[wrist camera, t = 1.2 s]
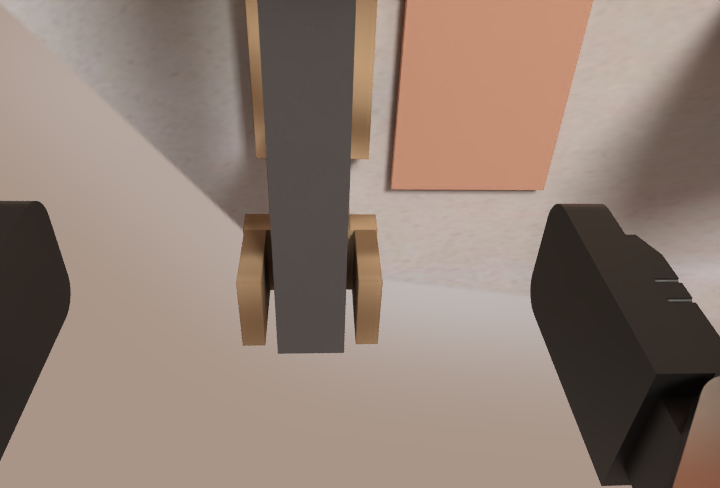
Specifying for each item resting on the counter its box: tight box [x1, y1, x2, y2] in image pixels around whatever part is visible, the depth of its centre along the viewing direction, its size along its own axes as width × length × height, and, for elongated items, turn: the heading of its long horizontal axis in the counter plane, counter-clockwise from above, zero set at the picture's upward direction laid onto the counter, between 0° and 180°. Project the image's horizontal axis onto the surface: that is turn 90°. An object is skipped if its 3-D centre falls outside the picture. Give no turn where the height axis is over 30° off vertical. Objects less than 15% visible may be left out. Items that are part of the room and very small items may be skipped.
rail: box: [257, 0, 356, 354], centre depth 18 cm, size 23×2×2 cm, turn 178°
